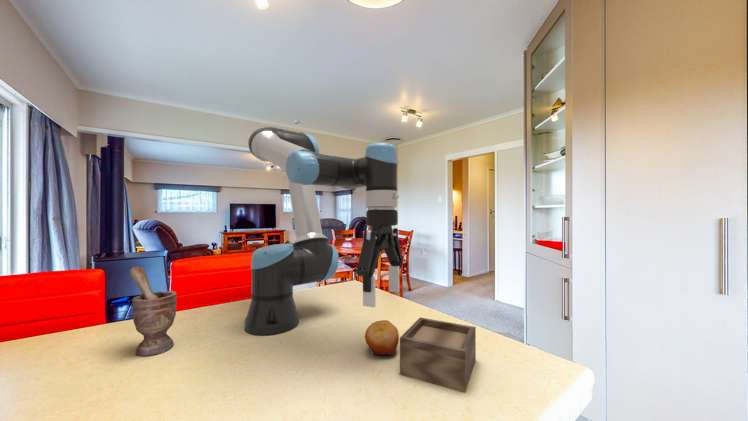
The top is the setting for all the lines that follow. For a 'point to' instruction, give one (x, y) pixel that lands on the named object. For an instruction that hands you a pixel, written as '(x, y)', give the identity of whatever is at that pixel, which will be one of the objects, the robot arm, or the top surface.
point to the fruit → (382, 337)
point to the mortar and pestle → (152, 315)
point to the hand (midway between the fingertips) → (382, 298)
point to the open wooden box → (439, 353)
